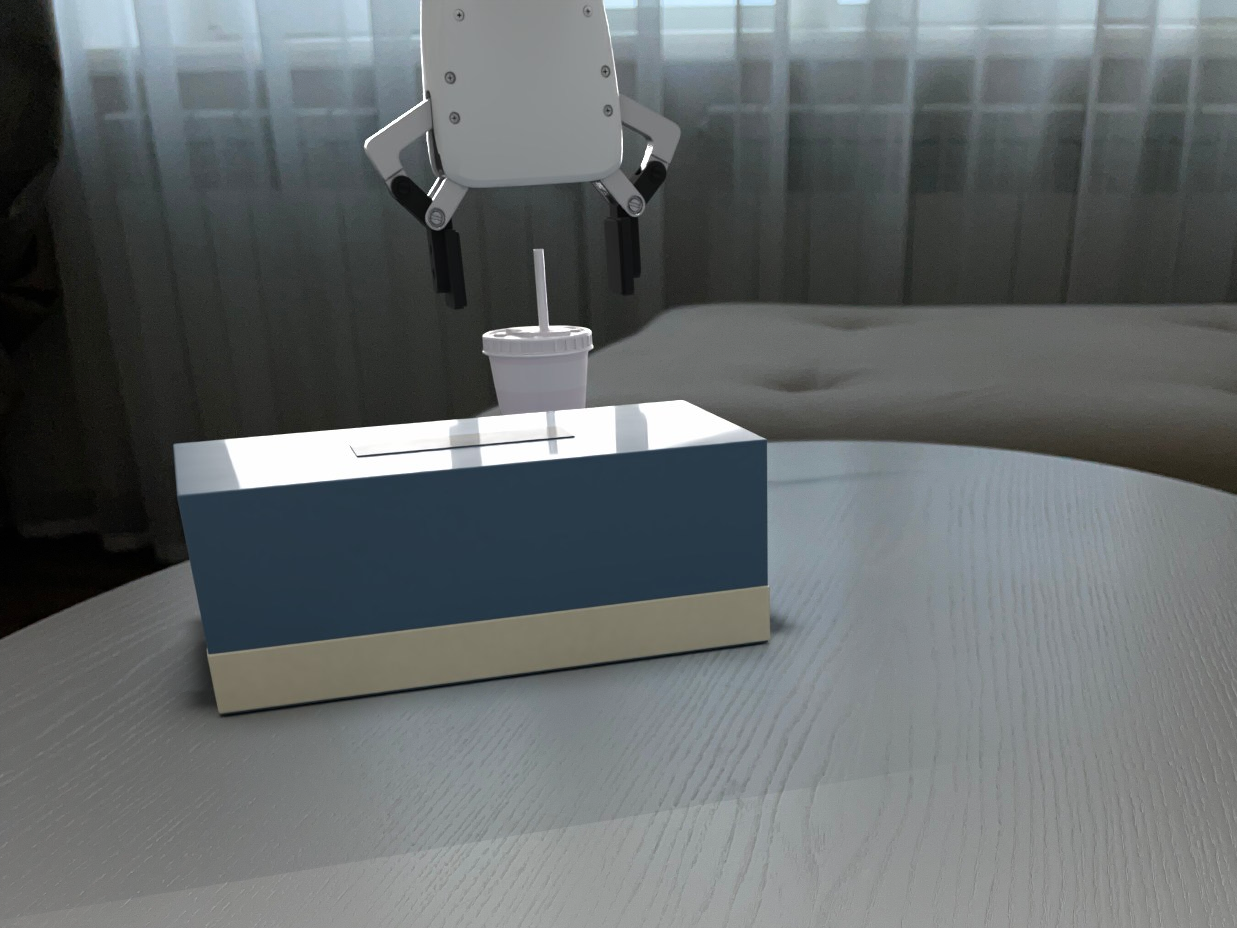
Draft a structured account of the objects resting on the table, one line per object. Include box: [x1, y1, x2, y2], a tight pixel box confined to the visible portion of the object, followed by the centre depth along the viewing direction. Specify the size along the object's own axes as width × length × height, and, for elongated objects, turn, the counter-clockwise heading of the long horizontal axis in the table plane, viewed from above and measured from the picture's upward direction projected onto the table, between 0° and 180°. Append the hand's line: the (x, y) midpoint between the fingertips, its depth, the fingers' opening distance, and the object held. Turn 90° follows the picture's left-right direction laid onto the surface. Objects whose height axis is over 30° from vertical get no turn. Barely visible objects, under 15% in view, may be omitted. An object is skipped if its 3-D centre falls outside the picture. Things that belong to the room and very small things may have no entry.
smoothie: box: [481, 248, 594, 416], centre depth 84 cm, size 6×6×14 cm
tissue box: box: [172, 399, 771, 716], centre depth 62 cm, size 23×11×8 cm, turn 108°
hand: (540, 299), depth 82 cm, fingers open, 9 cm apart
